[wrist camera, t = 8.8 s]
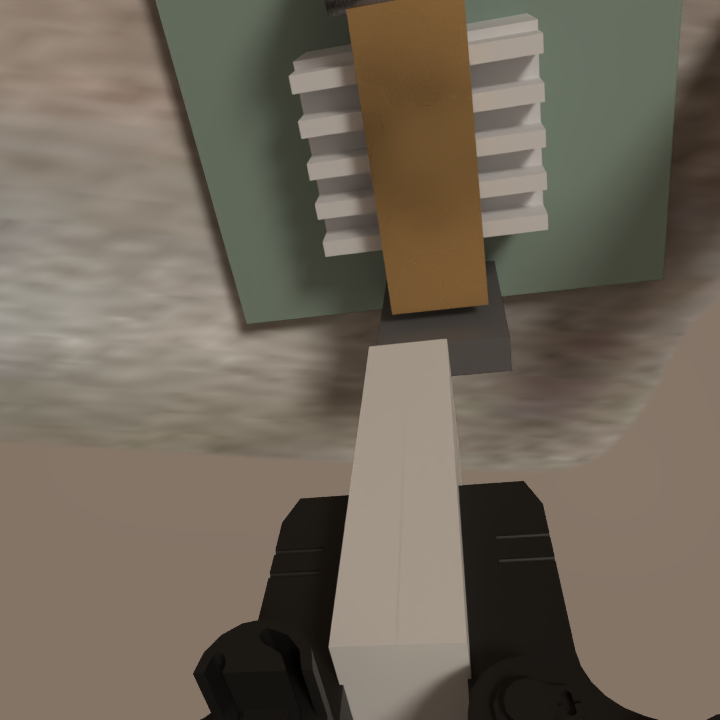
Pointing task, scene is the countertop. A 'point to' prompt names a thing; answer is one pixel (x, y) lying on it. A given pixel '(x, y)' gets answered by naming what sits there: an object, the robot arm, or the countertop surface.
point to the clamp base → (493, 145)
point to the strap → (420, 148)
